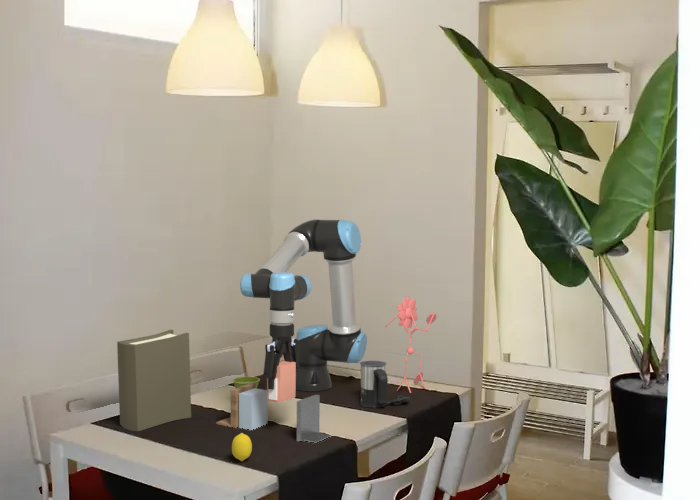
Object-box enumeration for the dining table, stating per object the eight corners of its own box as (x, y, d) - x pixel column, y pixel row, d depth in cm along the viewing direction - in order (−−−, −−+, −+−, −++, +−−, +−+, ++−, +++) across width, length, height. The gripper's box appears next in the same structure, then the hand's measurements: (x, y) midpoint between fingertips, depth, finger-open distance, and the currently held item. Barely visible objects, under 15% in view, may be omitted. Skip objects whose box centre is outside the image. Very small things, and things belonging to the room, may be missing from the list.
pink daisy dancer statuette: (440, 385, 315) (442, 295, 313) (398, 398, 296) (400, 302, 293) (408, 378, 326) (410, 291, 323) (366, 390, 306) (367, 297, 303)
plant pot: (242, 409, 279) (242, 384, 278) (227, 403, 286) (227, 379, 285) (265, 404, 285) (265, 380, 284) (249, 399, 292) (249, 375, 292)
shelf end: (236, 416, 270) (236, 380, 269) (255, 420, 266) (255, 384, 265) (216, 424, 262) (216, 387, 261) (235, 428, 257) (235, 390, 256)
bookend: (315, 432, 254) (315, 394, 253) (332, 436, 250) (333, 397, 250) (296, 441, 245) (296, 401, 244) (314, 444, 242) (315, 404, 241)
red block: (282, 394, 258) (282, 360, 257) (295, 397, 256) (295, 362, 255) (266, 400, 251) (267, 364, 251) (280, 402, 249) (280, 366, 248)
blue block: (254, 421, 265) (254, 388, 264) (267, 424, 262) (267, 390, 261) (239, 427, 258) (239, 393, 257) (251, 430, 255) (251, 395, 255)
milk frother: (353, 404, 287) (354, 362, 286) (386, 396, 298) (387, 356, 297) (381, 413, 277) (382, 369, 276) (414, 405, 287) (415, 363, 286)
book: (135, 434, 252) (132, 344, 250) (117, 428, 258) (114, 340, 256) (191, 417, 269) (188, 333, 266) (173, 412, 275) (170, 329, 272)
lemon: (228, 463, 225) (228, 434, 225) (237, 457, 231) (237, 429, 230) (245, 465, 223) (245, 437, 223) (255, 459, 229) (255, 431, 228)
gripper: (271, 329, 241) (270, 405, 243) (311, 319, 259) (310, 391, 260) (250, 326, 245) (250, 401, 246) (291, 317, 263) (291, 387, 264)
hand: (281, 396), depth 253 cm, fingers closed on red block, 8 cm apart
